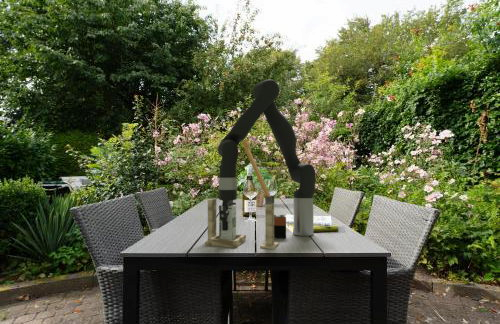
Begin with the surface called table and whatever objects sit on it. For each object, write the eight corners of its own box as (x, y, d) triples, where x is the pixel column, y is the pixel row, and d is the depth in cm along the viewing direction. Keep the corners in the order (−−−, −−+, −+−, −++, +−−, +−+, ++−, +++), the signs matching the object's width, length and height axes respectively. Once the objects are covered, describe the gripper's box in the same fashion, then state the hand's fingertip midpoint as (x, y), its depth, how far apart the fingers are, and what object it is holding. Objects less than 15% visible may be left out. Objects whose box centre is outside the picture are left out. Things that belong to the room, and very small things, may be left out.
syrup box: (223, 238, 135) (223, 204, 135) (236, 238, 133) (236, 204, 133) (218, 241, 129) (218, 205, 129) (232, 241, 128) (232, 205, 128)
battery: (285, 238, 140) (285, 216, 140) (270, 238, 140) (270, 215, 141) (286, 236, 144) (286, 214, 144) (271, 236, 145) (271, 214, 145)
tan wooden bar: (244, 142, 132) (247, 140, 131) (270, 200, 128) (274, 199, 128) (241, 141, 128) (245, 139, 128) (268, 201, 124) (272, 199, 124)
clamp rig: (214, 238, 139) (214, 193, 140) (280, 243, 131) (280, 194, 131) (202, 245, 128) (202, 195, 128) (274, 250, 119) (273, 197, 120)
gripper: (230, 189, 124) (230, 232, 123) (241, 187, 137) (241, 226, 137) (212, 189, 126) (212, 231, 125) (225, 187, 139) (225, 225, 139)
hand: (227, 228), depth 131 cm, fingers closed on syrup box, 6 cm apart
